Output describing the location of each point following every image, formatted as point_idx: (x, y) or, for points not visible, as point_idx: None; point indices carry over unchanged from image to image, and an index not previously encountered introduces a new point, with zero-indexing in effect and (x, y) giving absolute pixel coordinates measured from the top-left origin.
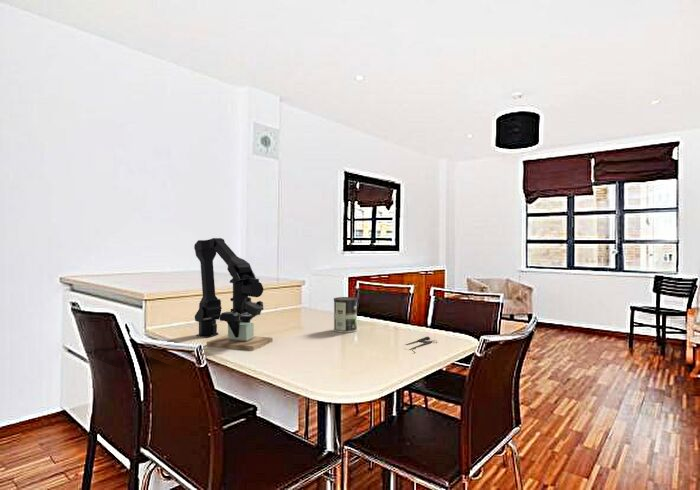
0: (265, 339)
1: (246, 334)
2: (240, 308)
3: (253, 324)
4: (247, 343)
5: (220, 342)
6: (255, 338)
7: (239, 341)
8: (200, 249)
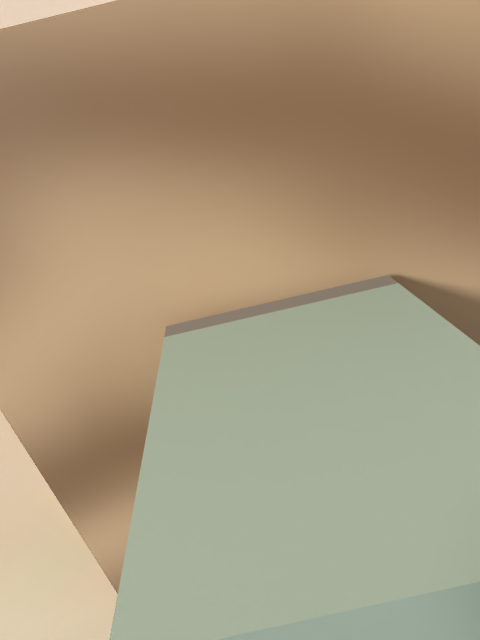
0: (27, 110)
1: (451, 331)
2: None
3: (119, 586)
4: (451, 190)
5: None
6: (107, 334)
7: None
8: None
